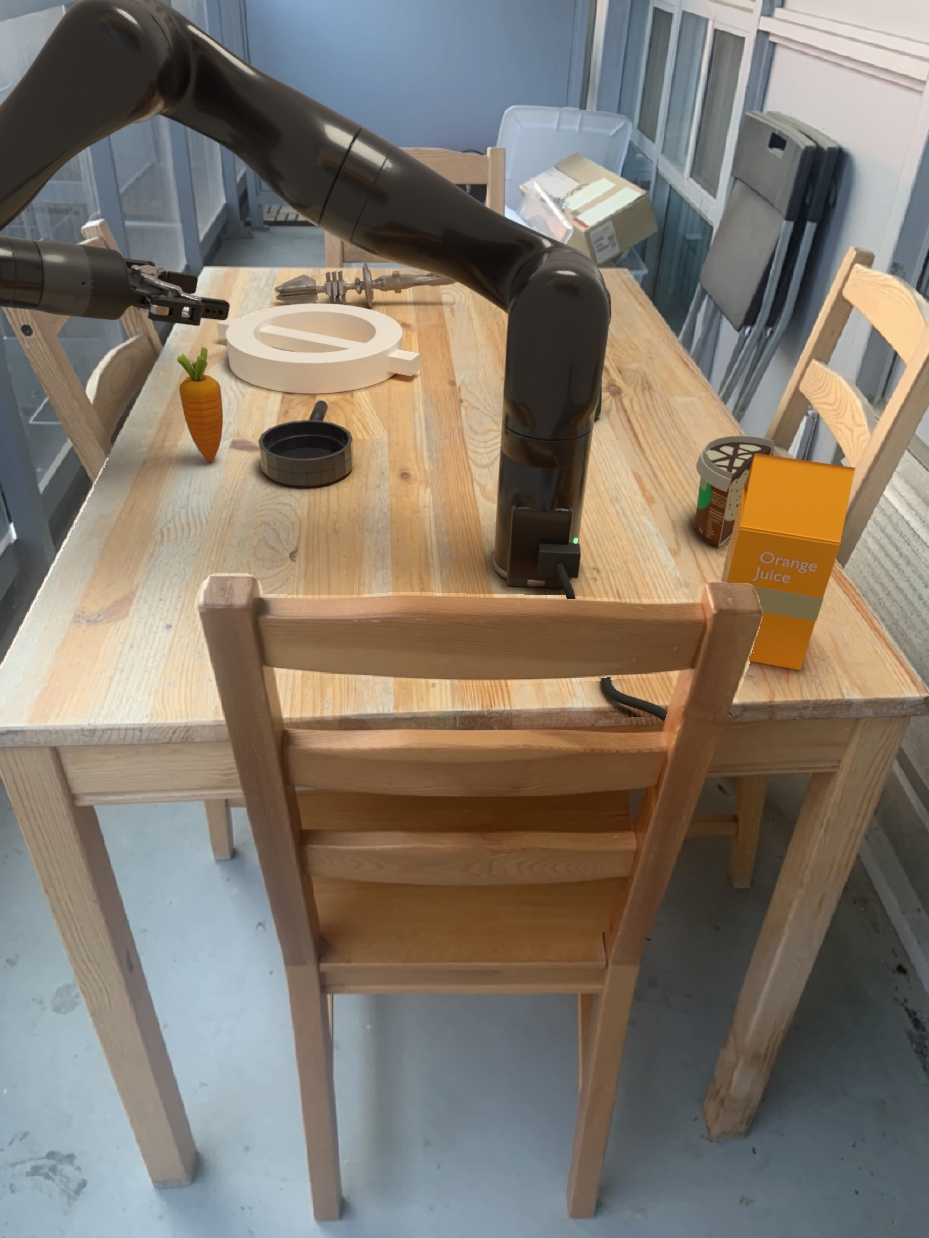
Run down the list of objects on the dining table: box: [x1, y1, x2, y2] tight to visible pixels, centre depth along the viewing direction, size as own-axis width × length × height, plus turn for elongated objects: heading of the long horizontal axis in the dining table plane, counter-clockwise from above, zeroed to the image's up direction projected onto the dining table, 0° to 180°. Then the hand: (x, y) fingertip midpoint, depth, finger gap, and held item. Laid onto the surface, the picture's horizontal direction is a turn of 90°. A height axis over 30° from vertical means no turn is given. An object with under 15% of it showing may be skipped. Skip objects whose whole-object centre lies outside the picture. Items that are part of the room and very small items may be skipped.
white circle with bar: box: [216, 303, 421, 395], centre depth 149 cm, size 28×28×5 cm
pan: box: [258, 419, 355, 488], centre depth 119 cm, size 12×12×4 cm
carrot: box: [176, 346, 224, 463], centre depth 116 cm, size 5×5×15 cm
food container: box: [694, 435, 776, 549], centre depth 108 cm, size 12×6×10 cm, turn 141°
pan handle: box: [308, 399, 329, 421], centre depth 125 cm, size 7×2×2 cm, turn 178°
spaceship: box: [274, 261, 458, 308], centre depth 171 cm, size 8×35×8 cm
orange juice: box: [720, 453, 856, 671], centre depth 87 cm, size 8×9×20 cm
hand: (211, 297), depth 111 cm, fingers open, 8 cm apart
